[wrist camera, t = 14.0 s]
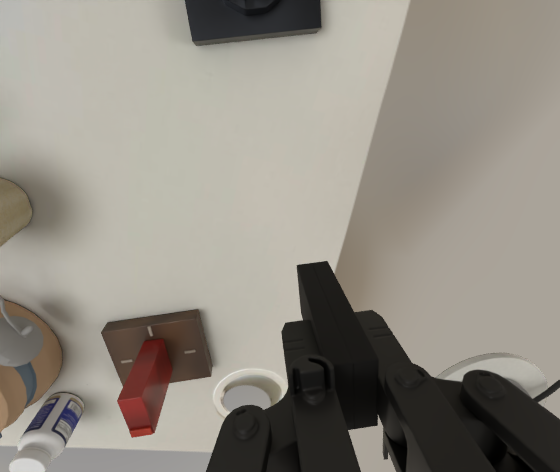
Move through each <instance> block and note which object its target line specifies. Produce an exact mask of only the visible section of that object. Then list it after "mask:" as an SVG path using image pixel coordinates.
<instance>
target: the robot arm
mask: <svg viewBox="0 0 560 472" xmlns="http://www.w3.org/2000/svg"><path fill="white" fill-rule="evenodd" d="M297 273H298V284H299V295H300V306H301V314H302V318H303V321H295V322H288V323H285V325H284V327H283V330H282V341H283V349H284V357H285V365H286V372H287V379H288V390H287V393H286V394H285V396H284V397H283V398H282V399H281V400H280V401H279V402H278V403H276V404H275V405H273V406H271V407H269V408H268V409H265V410H263V409H262V408H260V407H258V406H254V405H245V406H241V407H239V408H236V409H234V410H233V411H232V412H231V413H230V414H229V415H228V416H227V417H226V418H225V420H224V422H223V424H222V426H221V429H220V432H219V435H218V438H217V441H216V444H215V447H214V450H213V453H212V456H211V459H210V462H209V464H208V467H207V470H206V472H361V471H360V467H359V464H358V461H357V458H356V455H355V451H354V448H353V445H352V442H351V439H350V435H349V432H348V430H351V429H358V428H364V427H370V426H377V425H378V423H377V422H378V421H377V420H378V415H379V418H380V420H381V422H382V425H383V456H384V459H388V452H389V455H390V457H391V460H392V462H393V465H394V467H395V470H396V472H560V419H559V418H557V417H556V416H555V415H553V414H552V413H551V412H549V411H548V410H547V409H545V408H544V407H543V406H541V405H540V404H539V403H538V402H540V401H541V400H543V399H545V398H546V397H548V396H549V395H551V394H552V393H553V392H555V391H556V390H557V389H558V388H560V380H558V381H557V382H556V383H554V384H553V385H552V386H551V387H549V388H548V389H547V390H545V391H544V392H542V393H541V394H539V395H538V396H536V397H535V398H533V399H532V398H531V396H530V395H529V394H528V392H527V391H526V390H525V389H524V388H523V387H522V386H521V385H520V384H519V383H517V382H516V381H514V380H511V379H508V378H503V377H502V376H500V375H498V374H496V373H493V372H490V371H487V370H478V369H477V370H472V371H469V372H467V373H466V374H464V376H463V380H462V382H461V381H453V380H444V379H439V378H434V377H431V376H430V375H429V374H428V373H427V372H426V371H425V370H424V369H423V368H421V367H420V366H418V365H416V364H413V363H412V362H411V361H410V359H409V358H408V356H407V354H406V353H405V351H404V350H403V348H402V347H401V345H400V344H399V342H398V341H397V339H396V338H395V336H394V335H393V333H392V331H391V330H390V329H389V328H388V326H387V324H386V322H385V321H384V319H383V318H382V317H381V316H380V315H379V314H377V313H376V312H374V311H373V310H369V311H361V312H354V311H353V309H352V308H351V305H350V304H349V302H348V300H347V298H346V296H345V294H344V292H343V290H342V288H341V286H340V284H339V283H338V281H337V279H336V277H335V275H334V273H333V271H332V269H331V267H330V265H329V263H328V261H324V262H316V263H309V264H301V265H297Z"/></svg>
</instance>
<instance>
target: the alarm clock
mask: <svg viewBox="0 0 560 472" xmlns="http://www.w3.org/2000/svg"><path fill="white" fill-rule="evenodd" d="M61 366H62V350H61V347H60V345H59V342H58V339H57V337H56V336H55V334H54V333H53V332H52V330H51V329H50V328H49V326H48V325H47V324H46V323H45V322H43V321H42V320H41V319H40V318H38V317H37V316H36V315H35V314H34V313H32V312H30V311H28V310H26V309H25V308H23V307H21V306H19V305H17V304H15V303H12V302H9V301H5V300H4V299H3V298H2V297H1V296H0V438H1V437H2V435H1V431H2V430H3V429H4V428H6V427H8V426H9V425H11V424H12V423H14V422H15V421H16V420H17V418H18V417H19V416H20V415H21V414H22V413H23V411H24V409H25V408H27V407H29V406H30V405H32V404H33V403H35V402H37V401H38V400H39V399H40V398H41V397H42V396H43V395H44V394H45V392H46V391H47V390H48V389H49V388H50V386H51V385H52V383H53V382H54V381H55V379H56V378H57V376H58V374H59V371H60V369H61Z"/></svg>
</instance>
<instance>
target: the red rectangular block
mask: <svg viewBox="0 0 560 472" xmlns="http://www.w3.org/2000/svg"><path fill="white" fill-rule="evenodd" d="M172 371H173V370H172V366H171V363H170V360H169V357H168V353H167V350H166V347H165V344H164V340H163V339H157V340H150V341H144V342H143V344H142V347H141V349H140V351H139V353H138V355H137V358H136V360H135V362H134V364H133V367H132V369H131V371H130V373H129V375H128V378H127V380H126V382H125V384H124V387H123V389H122V391H121V393H120V395H119V398H118V400H117V402H118V404H119V407H120V409H121V412H122V414H123V416H124V419H125V421H126V424H127V426H128V428H129V432H130V434H131V437H139V436H145V435H151V434H153V433H155V430H156V426H157V423H158V419H159V416H160V413H161V409H162V406H163V402H164V399H165V395H166V392H167V388H168V385H169V381H170V378H171V375H172Z"/></svg>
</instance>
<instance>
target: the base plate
mask: <svg viewBox="0 0 560 472" xmlns="http://www.w3.org/2000/svg"><path fill="white" fill-rule="evenodd" d="M101 334H102V336H103V339H104V341H105V344H106V346H107V349H108V351H109V353H110V356H111V358H112V361H113V363H114V366H115V368H116V371H117V373H118V375H119V378H120V380H121V383H122V385H123V387H124V384H125V382H126V380H127V378H128V375H129V373H130V371H131V369H132V367H133V364H134V362H135V360H136V358H137V355H138V353H139V351H140V349H141V347H142V344H143V342H144V341H150V340H157V339H163V340H164V344H165V347H166V350H167V353H168V357H169V360H170V363H171V366H172V370H173V371H172V375H171V378H170V381H169V383H174V382H180V381H186V380H193V379H199V378H205V377H211V373H212V362H211V358H210V354H209V350H208V346H207V342H206V338H205V334H204V330H203V326H202V322H201V318H200V314H199V310H191V311H184V312H177V313H171V314H164V315H157V316H150V317H143V318H136V319H130V320H123V321H116V322H109V323H107V324H106V326H105V327H104V329H103V330H102V332H101Z"/></svg>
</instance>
